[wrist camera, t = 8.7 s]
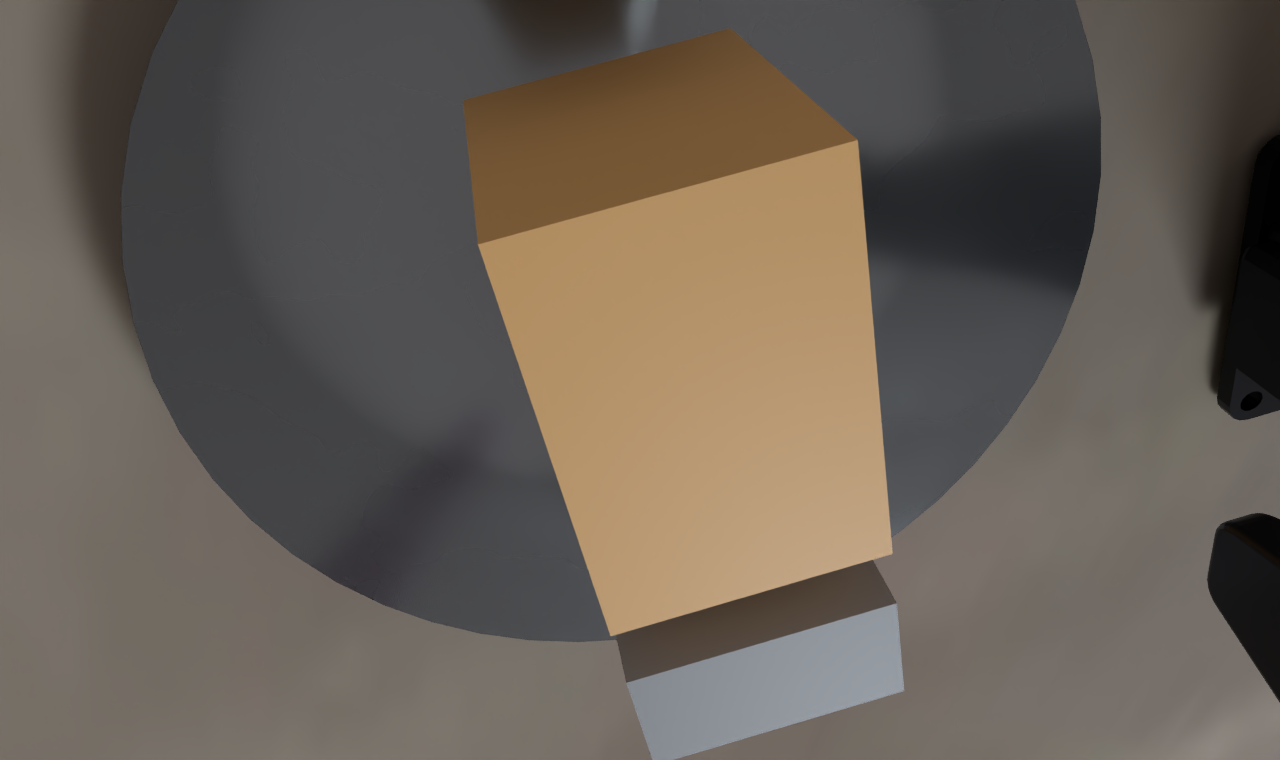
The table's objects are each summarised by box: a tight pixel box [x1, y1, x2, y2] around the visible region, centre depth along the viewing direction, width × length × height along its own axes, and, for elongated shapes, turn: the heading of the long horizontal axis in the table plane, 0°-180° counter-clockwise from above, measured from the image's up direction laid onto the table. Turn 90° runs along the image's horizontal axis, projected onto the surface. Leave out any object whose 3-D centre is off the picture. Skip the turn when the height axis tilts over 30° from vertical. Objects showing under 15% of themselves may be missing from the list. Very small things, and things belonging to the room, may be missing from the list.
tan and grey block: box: [463, 28, 904, 760], centre depth 14 cm, size 4×9×5 cm, turn 12°
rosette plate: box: [121, 0, 1101, 642], centre depth 16 cm, size 16×16×3 cm
